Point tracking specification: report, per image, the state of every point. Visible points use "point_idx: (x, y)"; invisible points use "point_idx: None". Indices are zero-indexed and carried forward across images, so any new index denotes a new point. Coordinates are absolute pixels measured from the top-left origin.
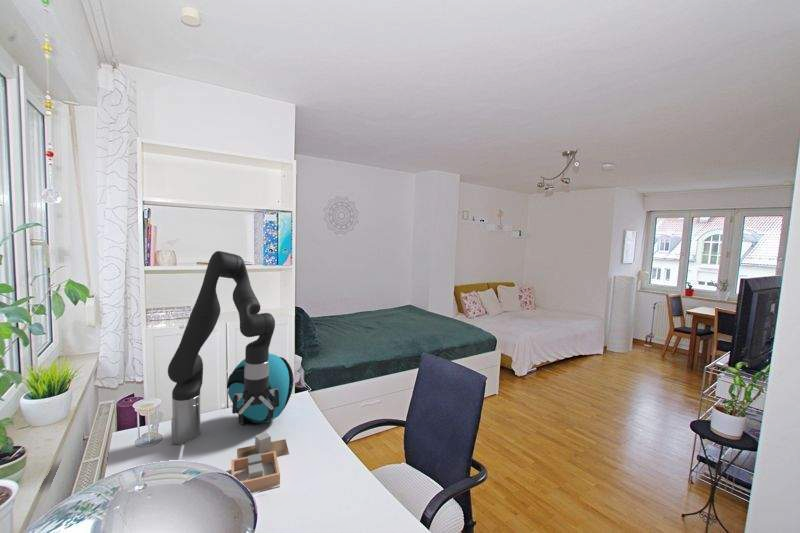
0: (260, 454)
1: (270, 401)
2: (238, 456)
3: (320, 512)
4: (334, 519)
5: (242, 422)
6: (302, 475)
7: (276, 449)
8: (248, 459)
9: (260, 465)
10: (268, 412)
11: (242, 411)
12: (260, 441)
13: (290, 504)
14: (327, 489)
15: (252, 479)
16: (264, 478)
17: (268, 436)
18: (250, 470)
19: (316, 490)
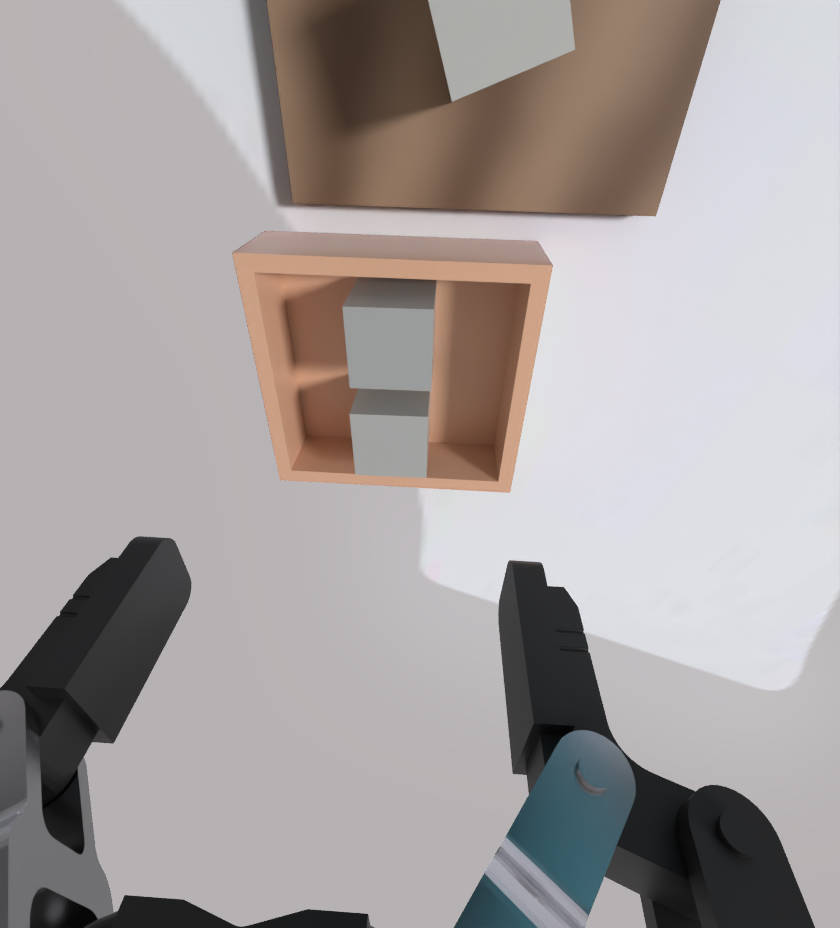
0: (431, 324)
1: (600, 880)
2: (282, 64)
3: (591, 593)
4: (614, 622)
5: (170, 619)
6: (630, 416)
7: (594, 91)
8: (348, 349)
9: (418, 436)
10: (517, 643)
11: (69, 808)
12: (457, 98)
13: (514, 537)
14: (674, 528)
15: (375, 478)
16: (432, 484)
17: (553, 36)
18: (361, 455)
19: (633, 517)
